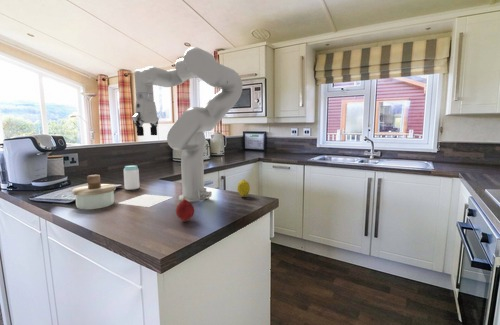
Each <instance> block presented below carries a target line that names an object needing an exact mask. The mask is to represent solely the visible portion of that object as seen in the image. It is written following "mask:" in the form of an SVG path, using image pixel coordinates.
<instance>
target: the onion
mask: <svg viewBox="0 0 500 325" xmlns="http://www.w3.org/2000/svg"><path fill="white" fill-rule="evenodd" d="M175 214H176V216H177V217H178V218H179V219H180V220H182V221H183V222H184V223H185V222H188V221H189V220H190V219H191V218H192V217H193V215H194V214H195V207H194V205H193V204H192V202H189V201H187V200H186V199H185V198H183V201H180V202H179V203H178V205H176V209H175Z"/></svg>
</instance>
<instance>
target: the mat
mask: <svg viewBox="0 0 500 325" xmlns="http://www.w3.org/2000/svg"><path fill="white" fill-rule="evenodd" d="M172 198H174V196H165V195H157V194H146V193H145V194H142V195H138V196H135V197H132V198H129V199H126V200H123V201H120V202H117V205H118V204H119V205H127V206H134V207H135V206H136V207H144V208H151V207H152V206H155V205H157V204H161V203H163V202H165V201H167V200H170V199H172Z"/></svg>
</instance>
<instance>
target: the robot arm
mask: <svg viewBox="0 0 500 325" xmlns="http://www.w3.org/2000/svg"><path fill="white" fill-rule="evenodd" d="M194 78H199V79H200V80H202V81H203V82H204V83H205V84H207V85H209V86H210V87H213V88H216V89H220V90H219V91H218V92H217V93H215V94H213V96H211V98H210V99H209V101H208V102H207V103H206V104H205V105H204V106H201V107H199V106H193V107H189V108H187V109H186V110H185V111H183V113H182V114H181V115H180V116H179V118H178V119H177V120H176V121H175V123H173V125H172V126H171V128H170V129H169V131H168V133H167V136H166V141H167V144H168V146H169V147H170V148H171V149H173V150H175V151H182V152H181V158H180V165H181V167H180V168H181V190H182V191H181V193H182V194H180V195H179V196H178V200H179V201H180V202H182V201H183V198H185V199H186V200H187V201H189V202H190V203H192V202H193V203H195V202H203V201H206V200H207V199H208V198H210V197H212V194H213V192H212V191H210V190H207V188H206V187H205V179H204V178H205V175H204V173H205V172H204V166H205V165H204V154H205V152H204V151H205V143H206V137H205V133H204V132H210V131H212V130H214V128H216V127H217V125H218V124H219V123H220V122H221V121H222V119H223V118H224V117H225V116H226V114H228V112H229V111H230V110H231V109H232V108H233V107H234V106H235V105H236V103H238V101H239V99H240V98H241V97H242V96H241V95H242V92H243V81H242V77H241V75H240V74H239V73H238V72H237V71H236V70H235V69H233V68H232V67H229V66H226V65H224V64H221V63H220V62H218V61H217V60H216V58H215V57H214V55H213V54H212V53H211V52H208V51H206V50H204V49H202V48H200V47H196V46H193V47H190V48H188V49H187V50H185V53H184V54H183V57H181V58H178V59H177V60H176V62H175V64H174V69H169V70H167V69H162V68H160V67H156V66H147V67H145V68H142V69H141V68H140V69H139V68H137V69H136V70H135V71H134V84H135V85H134V86H135V88H134V89H135V106H134V107H135V108H134V109H135V111H134V112H135V114H134V115H133V116H131V118H132V120H133V123H134V125H135V127H136V135H137V136H138V137H139V136H141V137H144V135H145V134H144V133H145V130H144V126H143V125H144V124H149V126H150V127H149V128H150V136H158V124H159V119H160V118H159V117H158V113H157V111H158V110H157V107H156V102H155V98H154V97H155V96H154V86H158V87H162V88H172V87H175V86H179V85H182V84H184V83H185V82H186V81H187V80H190V79H194Z"/></svg>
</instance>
